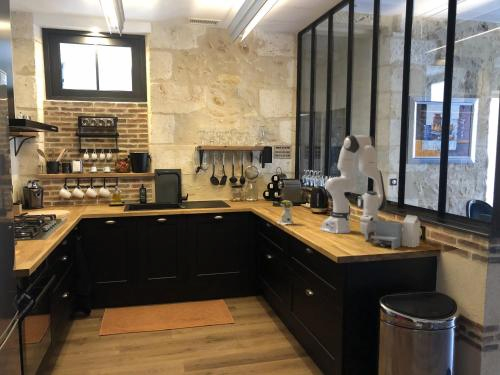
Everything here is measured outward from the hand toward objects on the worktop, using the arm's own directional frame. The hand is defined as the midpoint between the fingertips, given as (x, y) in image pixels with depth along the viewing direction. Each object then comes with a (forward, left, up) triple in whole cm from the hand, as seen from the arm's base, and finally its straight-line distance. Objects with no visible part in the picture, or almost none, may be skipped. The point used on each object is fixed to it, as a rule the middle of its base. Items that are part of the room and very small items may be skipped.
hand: (369, 238), depth 256 cm
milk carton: (+24, +5, -2) cm, 24 cm away
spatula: (+7, 0, -2) cm, 7 cm away
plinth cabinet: (+12, -4, -2) cm, 13 cm away
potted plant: (-75, +14, -2) cm, 76 cm away
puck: (+11, -6, -2) cm, 13 cm away
